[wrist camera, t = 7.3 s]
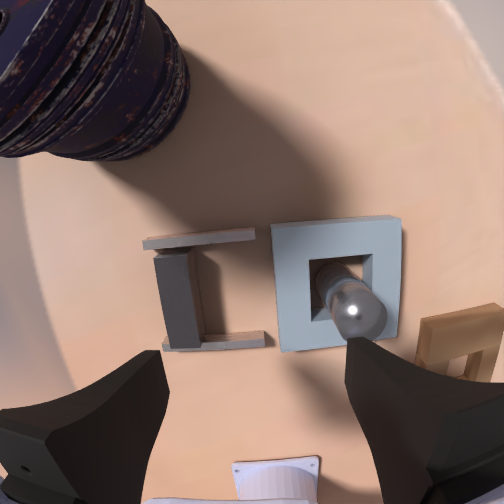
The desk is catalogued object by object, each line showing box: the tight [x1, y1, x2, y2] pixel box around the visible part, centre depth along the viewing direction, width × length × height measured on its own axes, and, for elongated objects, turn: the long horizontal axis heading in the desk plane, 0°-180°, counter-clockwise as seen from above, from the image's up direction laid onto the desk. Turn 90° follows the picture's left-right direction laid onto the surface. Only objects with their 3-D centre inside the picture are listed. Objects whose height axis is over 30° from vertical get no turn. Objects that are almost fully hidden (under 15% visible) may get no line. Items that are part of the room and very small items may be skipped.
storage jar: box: [0, 0, 190, 161], centre depth 11 cm, size 10×10×15 cm
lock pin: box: [315, 262, 388, 341], centre depth 18 cm, size 3×3×6 cm
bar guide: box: [142, 227, 265, 352], centre depth 21 cm, size 8×7×1 cm
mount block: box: [415, 303, 504, 383], centre depth 22 cm, size 10×8×2 cm
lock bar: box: [153, 247, 206, 349], centre depth 20 cm, size 6×2×2 cm, turn 5°
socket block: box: [270, 215, 401, 352], centre depth 20 cm, size 8×8×2 cm
